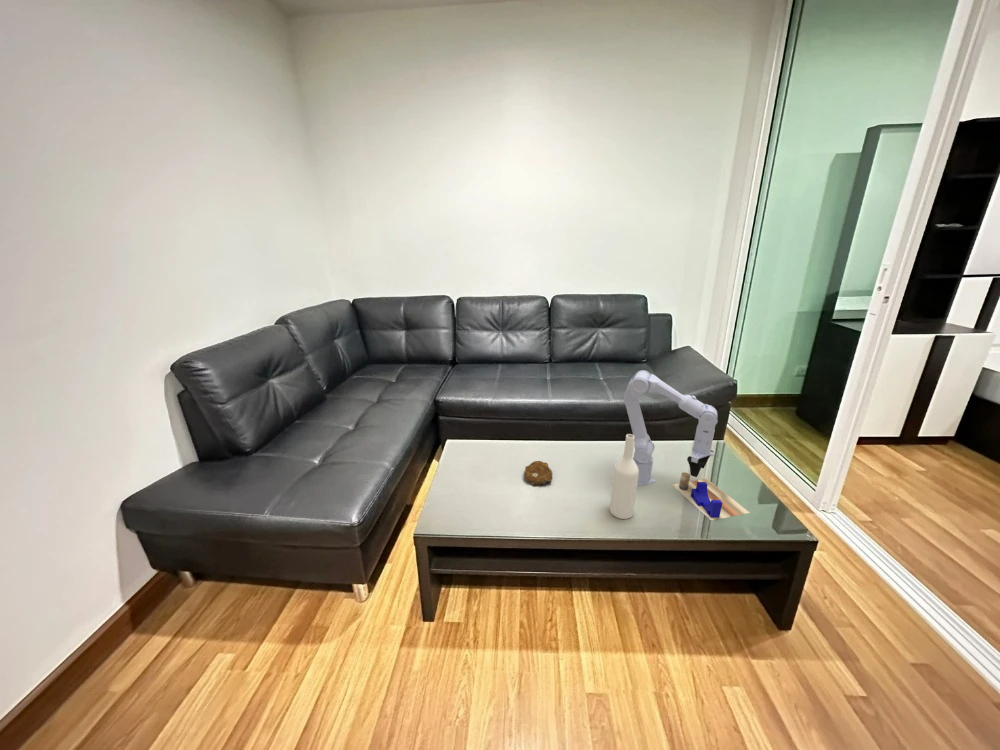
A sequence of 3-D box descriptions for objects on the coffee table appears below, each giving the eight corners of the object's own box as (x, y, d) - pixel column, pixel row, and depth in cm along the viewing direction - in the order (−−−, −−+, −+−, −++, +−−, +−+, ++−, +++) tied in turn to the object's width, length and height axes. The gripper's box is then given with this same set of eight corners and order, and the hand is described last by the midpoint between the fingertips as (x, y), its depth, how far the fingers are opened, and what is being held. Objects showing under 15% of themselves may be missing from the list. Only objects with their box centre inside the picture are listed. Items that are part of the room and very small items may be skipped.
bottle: (621, 501, 143) (630, 428, 133) (638, 514, 136) (648, 438, 126) (604, 508, 140) (612, 433, 130) (620, 522, 133) (630, 444, 123)
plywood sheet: (711, 521, 133) (711, 520, 133) (671, 485, 152) (671, 484, 152) (749, 513, 137) (750, 512, 137) (706, 479, 156) (706, 478, 156)
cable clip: (690, 495, 146) (693, 481, 144) (702, 495, 146) (705, 481, 144) (706, 517, 135) (709, 502, 132) (719, 517, 134) (722, 502, 132)
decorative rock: (524, 466, 166) (524, 489, 152) (523, 458, 165) (524, 480, 151) (551, 465, 166) (554, 488, 152) (550, 457, 164) (554, 479, 150)
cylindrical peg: (682, 490, 148) (685, 477, 146) (677, 486, 151) (679, 473, 149) (689, 489, 149) (691, 476, 147) (684, 485, 152) (686, 471, 150)
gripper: (709, 450, 133) (702, 484, 138) (721, 435, 143) (715, 467, 148) (687, 443, 138) (681, 476, 142) (701, 429, 148) (695, 460, 152)
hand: (697, 471), depth 145 cm, fingers open, 7 cm apart
